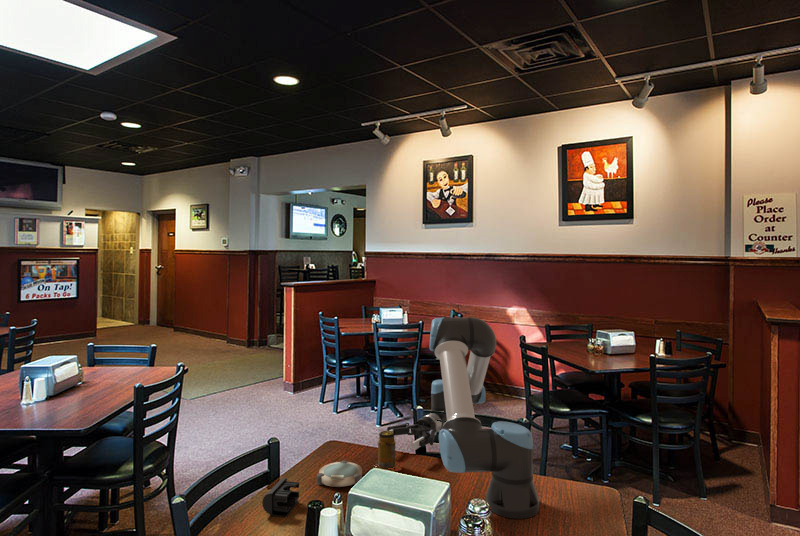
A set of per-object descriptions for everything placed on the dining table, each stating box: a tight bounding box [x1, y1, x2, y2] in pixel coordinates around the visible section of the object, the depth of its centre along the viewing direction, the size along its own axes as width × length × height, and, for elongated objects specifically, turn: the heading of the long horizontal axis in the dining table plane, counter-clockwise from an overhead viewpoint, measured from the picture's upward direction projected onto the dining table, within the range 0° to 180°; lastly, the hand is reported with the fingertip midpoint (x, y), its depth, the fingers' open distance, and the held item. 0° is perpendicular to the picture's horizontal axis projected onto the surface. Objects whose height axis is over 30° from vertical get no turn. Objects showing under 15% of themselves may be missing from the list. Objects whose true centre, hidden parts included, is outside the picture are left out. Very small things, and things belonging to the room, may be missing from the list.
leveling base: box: [316, 459, 363, 488], centre depth 154 cm, size 14×15×4 cm
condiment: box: [374, 430, 397, 470], centre depth 162 cm, size 7×8×12 cm
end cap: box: [261, 477, 300, 518], centre depth 135 cm, size 10×7×7 cm
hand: (397, 442), depth 167 cm, fingers open, 13 cm apart
